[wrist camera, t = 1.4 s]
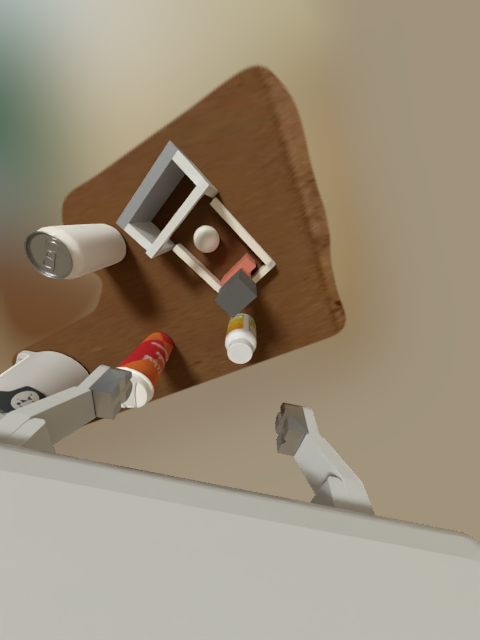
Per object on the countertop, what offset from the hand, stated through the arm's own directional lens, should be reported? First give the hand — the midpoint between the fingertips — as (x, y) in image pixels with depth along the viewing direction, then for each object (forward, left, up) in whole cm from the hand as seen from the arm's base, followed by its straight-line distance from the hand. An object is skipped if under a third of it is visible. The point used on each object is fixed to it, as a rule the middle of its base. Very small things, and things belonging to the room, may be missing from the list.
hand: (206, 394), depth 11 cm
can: (-13, +19, -29) cm, 37 cm away
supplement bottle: (-7, -8, -29) cm, 31 cm away
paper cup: (-23, +1, -29) cm, 37 cm away
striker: (0, 0, -29) cm, 29 cm away
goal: (0, +13, -29) cm, 31 cm away
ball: (0, +7, -27) cm, 28 cm away
